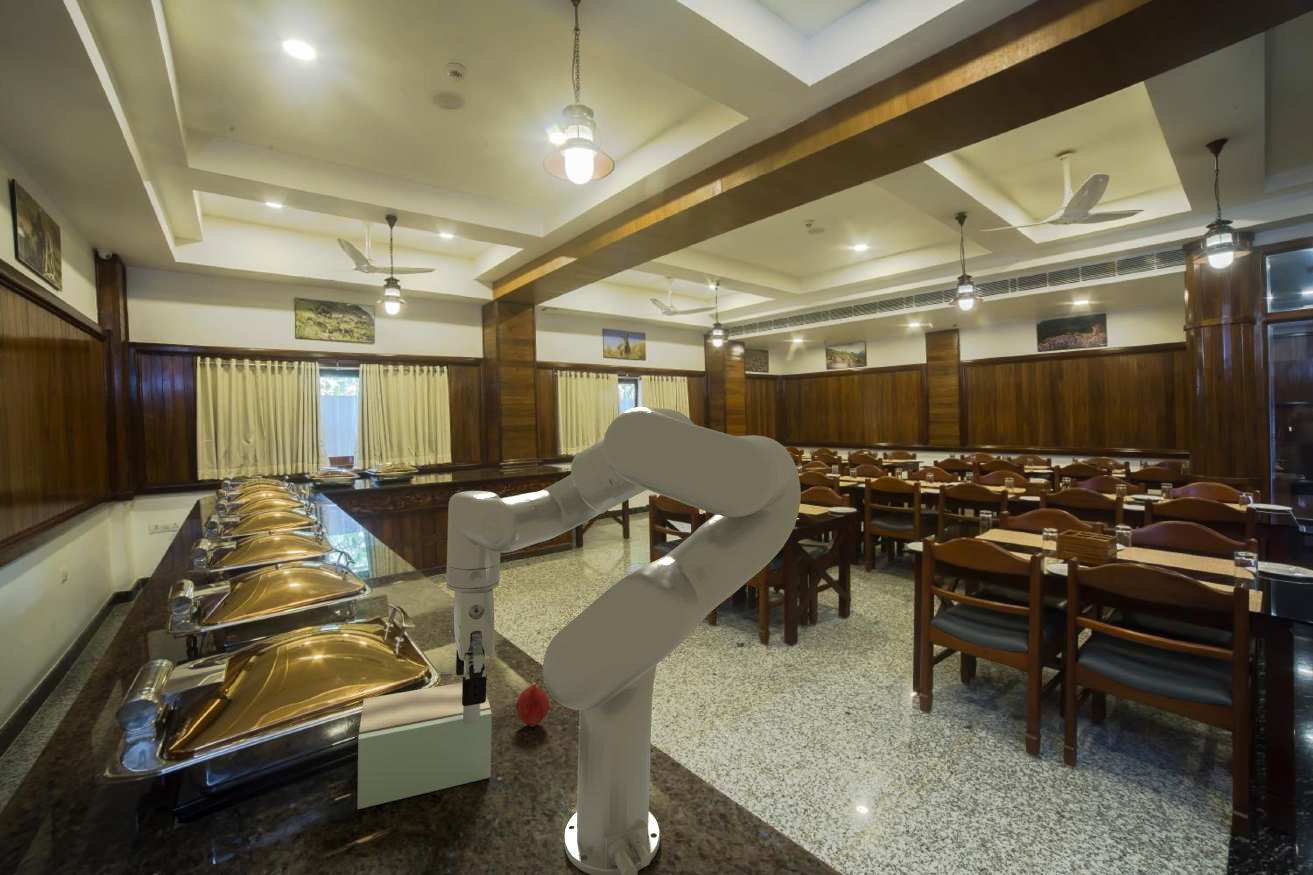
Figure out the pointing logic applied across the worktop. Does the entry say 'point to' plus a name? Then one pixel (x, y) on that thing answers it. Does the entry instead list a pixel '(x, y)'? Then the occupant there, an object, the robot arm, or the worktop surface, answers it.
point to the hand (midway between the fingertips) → (470, 687)
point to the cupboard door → (424, 757)
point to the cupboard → (413, 707)
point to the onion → (532, 705)
